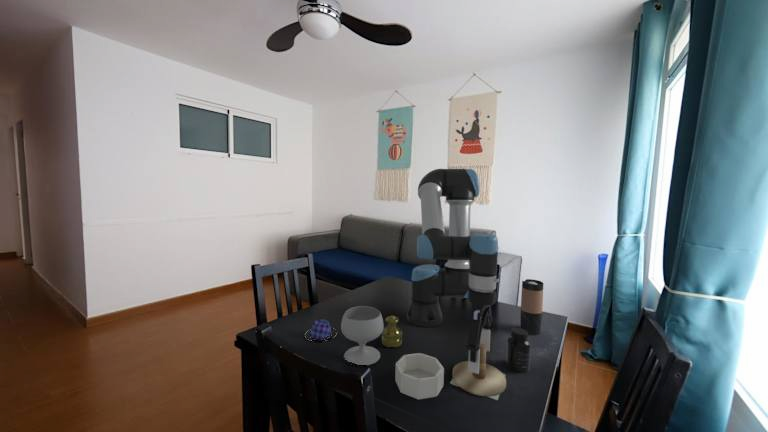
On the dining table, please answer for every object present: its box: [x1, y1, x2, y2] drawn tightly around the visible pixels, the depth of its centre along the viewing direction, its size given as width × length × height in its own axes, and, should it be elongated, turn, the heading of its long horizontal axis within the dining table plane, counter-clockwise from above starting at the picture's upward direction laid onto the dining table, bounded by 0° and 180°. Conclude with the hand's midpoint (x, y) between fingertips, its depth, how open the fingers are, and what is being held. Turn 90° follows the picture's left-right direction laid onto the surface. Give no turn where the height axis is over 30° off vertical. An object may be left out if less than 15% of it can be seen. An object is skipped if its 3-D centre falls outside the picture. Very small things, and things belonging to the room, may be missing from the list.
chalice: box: [340, 305, 385, 366], centre depth 98 cm, size 14×14×15 cm
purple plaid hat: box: [304, 319, 338, 342], centre depth 113 cm, size 12×12×5 cm
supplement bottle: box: [505, 327, 532, 374], centre depth 93 cm, size 7×7×12 cm
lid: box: [451, 343, 507, 397], centre depth 86 cm, size 15×15×10 cm
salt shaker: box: [381, 315, 403, 348], centre depth 107 cm, size 7×7×10 cm
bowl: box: [394, 352, 445, 400], centre depth 84 cm, size 13×13×6 cm
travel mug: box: [519, 278, 544, 336], centre depth 117 cm, size 8×8×20 cm
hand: (479, 360), depth 86 cm, fingers open, 13 cm apart
